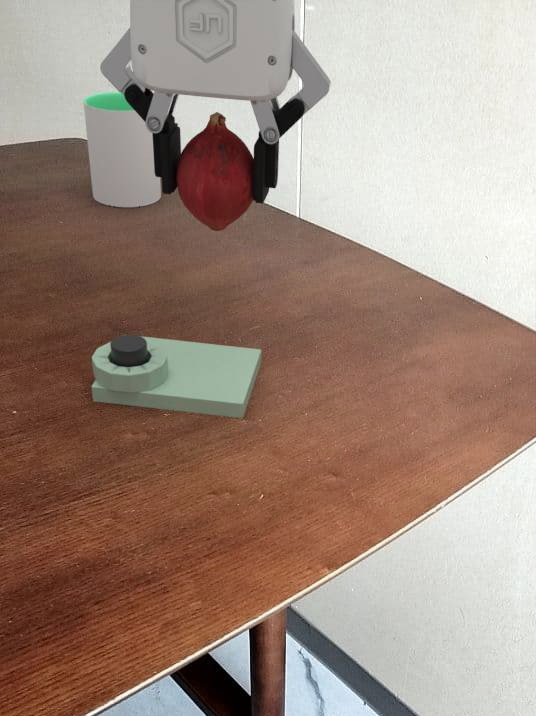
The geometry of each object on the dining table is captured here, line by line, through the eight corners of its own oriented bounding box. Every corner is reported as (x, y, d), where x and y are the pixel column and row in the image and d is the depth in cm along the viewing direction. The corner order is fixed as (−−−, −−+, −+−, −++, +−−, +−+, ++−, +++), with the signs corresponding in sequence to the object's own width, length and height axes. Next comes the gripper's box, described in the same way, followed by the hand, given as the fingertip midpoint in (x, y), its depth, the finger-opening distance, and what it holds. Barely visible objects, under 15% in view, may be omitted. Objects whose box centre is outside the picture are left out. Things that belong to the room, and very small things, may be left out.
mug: (90, 174, 109) (81, 83, 102) (154, 173, 111) (149, 83, 104) (94, 208, 100) (84, 110, 93) (164, 206, 102) (159, 110, 95)
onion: (261, 245, 62) (264, 126, 57) (180, 246, 61) (176, 125, 56) (251, 216, 67) (253, 103, 61) (176, 216, 66) (171, 101, 61)
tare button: (107, 367, 67) (105, 349, 66) (117, 350, 69) (116, 332, 68) (142, 371, 67) (141, 353, 66) (151, 354, 69) (150, 336, 68)
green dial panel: (87, 403, 68) (82, 369, 66) (120, 348, 75) (117, 316, 73) (242, 421, 67) (242, 387, 65) (261, 363, 74) (262, 331, 72)
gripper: (47, -131, 48) (83, 198, 60) (355, -108, 47) (330, 223, 59) (89, -136, 54) (114, 165, 66) (364, -116, 53) (340, 187, 65)
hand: (216, 190), depth 62 cm, fingers closed on onion, 5 cm apart
